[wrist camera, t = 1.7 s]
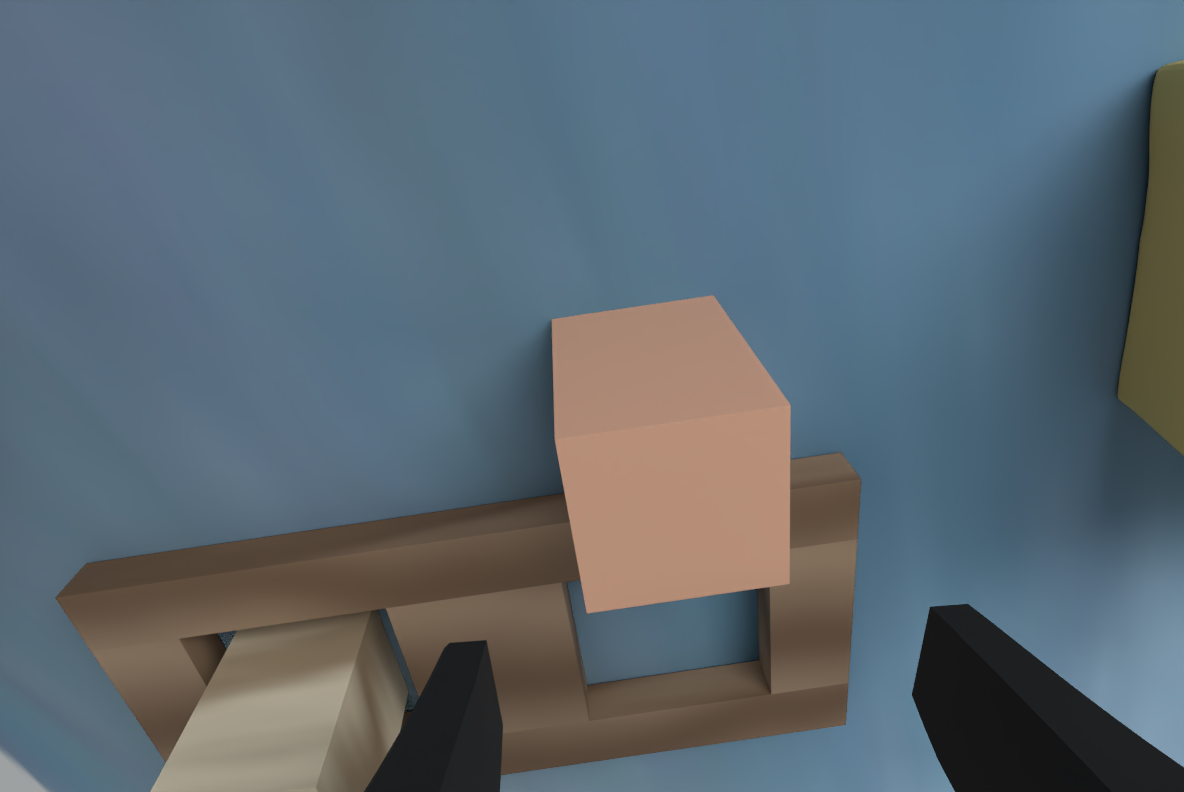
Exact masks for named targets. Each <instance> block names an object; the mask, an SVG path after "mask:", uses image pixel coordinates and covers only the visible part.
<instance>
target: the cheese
mask: <svg viewBox="0 0 1184 792" xmlns="http://www.w3.org/2000/svg"><path fill="white" fill-rule="evenodd" d="M1118 399H1119V400H1120V401H1122V402H1123V403H1124V404H1125V405H1126V406H1128V407H1129V408H1130V409H1132V410H1133V411H1134V412H1135V413H1136V414H1137V415H1139V416H1140V417H1141V418H1142V419H1143V420H1144V421H1145V422H1146V423H1147V424H1149V425H1150V426H1151V427H1152V428H1153V429H1154V430H1155V431H1156V432H1157V433H1158V434H1160V435H1161V436H1162V437H1163V438H1164V439H1165V440H1166V441H1167V442H1168V443H1169V444H1171V445H1172V446H1173V447H1174V448H1175V449H1176V450H1177V451H1179V452H1180V453H1181V454H1182V455H1183V456H1184V60H1183V61H1177V62H1174V63H1170V64H1167V65H1165V66H1162V67H1161V68H1160V69H1159V70H1158V71H1157V73H1156V77H1155V81H1154V85H1153V92H1152V101H1151V113H1150V136H1149V182H1148V191H1147V199H1146V207H1145V215H1144V223H1143V228H1142V233H1141V238H1140V246H1139V255H1138V264H1137V272H1136V279H1135V286H1134V293H1133V300H1132V306H1131V312H1130V318H1129V324H1128V330H1127V336H1126V342H1125V348H1124V353H1123V359H1122V365H1121V371H1120V377H1119V386H1118Z"/></svg>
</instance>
